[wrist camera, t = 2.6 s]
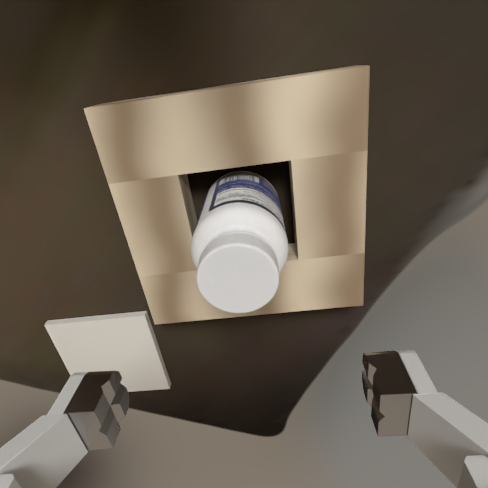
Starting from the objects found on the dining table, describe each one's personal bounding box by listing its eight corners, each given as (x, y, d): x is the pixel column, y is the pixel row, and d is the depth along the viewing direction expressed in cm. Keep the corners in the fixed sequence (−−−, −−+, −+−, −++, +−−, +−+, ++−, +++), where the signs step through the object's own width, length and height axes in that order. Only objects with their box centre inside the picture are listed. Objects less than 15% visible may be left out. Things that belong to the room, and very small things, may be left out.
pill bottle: (247, 251, 27) (244, 342, 18) (190, 209, 25) (158, 287, 17) (295, 201, 25) (318, 276, 16) (237, 152, 23) (227, 206, 15)
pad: (83, 390, 35) (81, 395, 34) (47, 320, 30) (44, 325, 30) (171, 383, 34) (169, 388, 33) (146, 310, 30) (144, 315, 29)
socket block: (162, 304, 29) (154, 324, 27) (100, 103, 22) (83, 108, 20) (354, 285, 28) (363, 305, 26) (357, 65, 21) (369, 65, 18)
